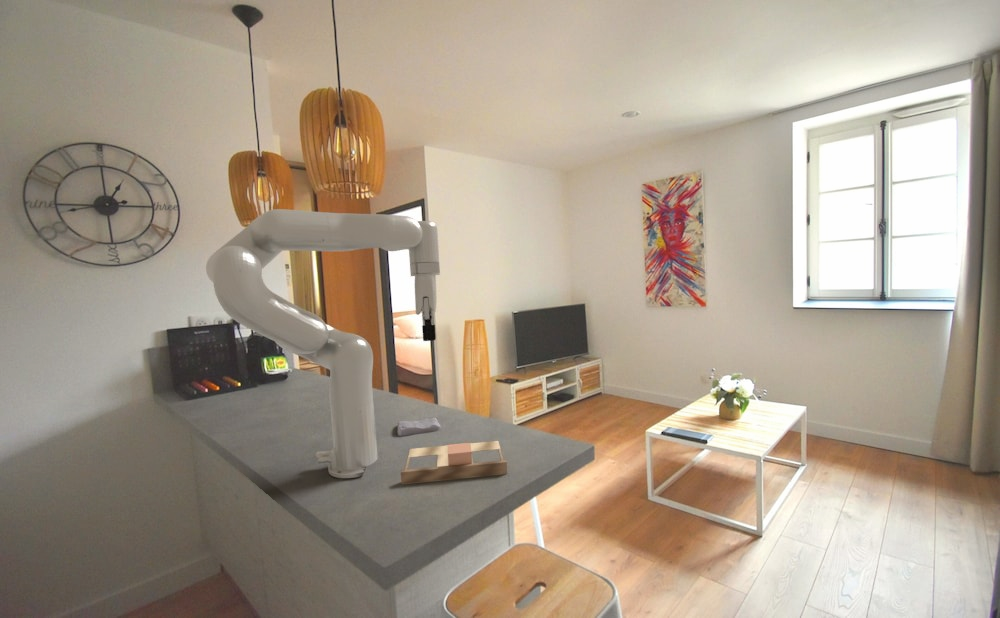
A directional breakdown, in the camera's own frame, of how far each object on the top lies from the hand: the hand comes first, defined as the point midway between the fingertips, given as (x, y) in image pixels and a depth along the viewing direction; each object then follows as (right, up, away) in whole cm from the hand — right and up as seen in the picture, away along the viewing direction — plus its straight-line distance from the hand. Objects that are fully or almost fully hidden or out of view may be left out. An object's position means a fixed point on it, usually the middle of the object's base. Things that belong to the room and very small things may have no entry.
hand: (429, 340), depth 113 cm
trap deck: (+8, -28, -14) cm, 32 cm away
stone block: (-5, -27, +9) cm, 29 cm away
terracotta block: (+10, -27, -19) cm, 35 cm away
